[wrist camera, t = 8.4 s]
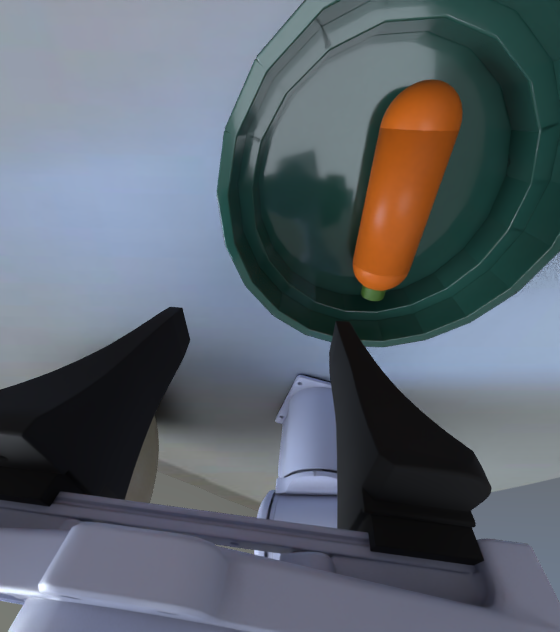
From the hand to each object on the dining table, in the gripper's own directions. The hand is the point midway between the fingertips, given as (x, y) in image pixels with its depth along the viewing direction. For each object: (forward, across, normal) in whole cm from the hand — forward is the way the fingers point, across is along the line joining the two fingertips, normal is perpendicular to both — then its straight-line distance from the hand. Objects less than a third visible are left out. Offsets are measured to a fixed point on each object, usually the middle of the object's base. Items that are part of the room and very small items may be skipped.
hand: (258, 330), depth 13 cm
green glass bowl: (+9, -6, -4) cm, 12 cm away
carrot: (+9, -6, -4) cm, 11 cm away
